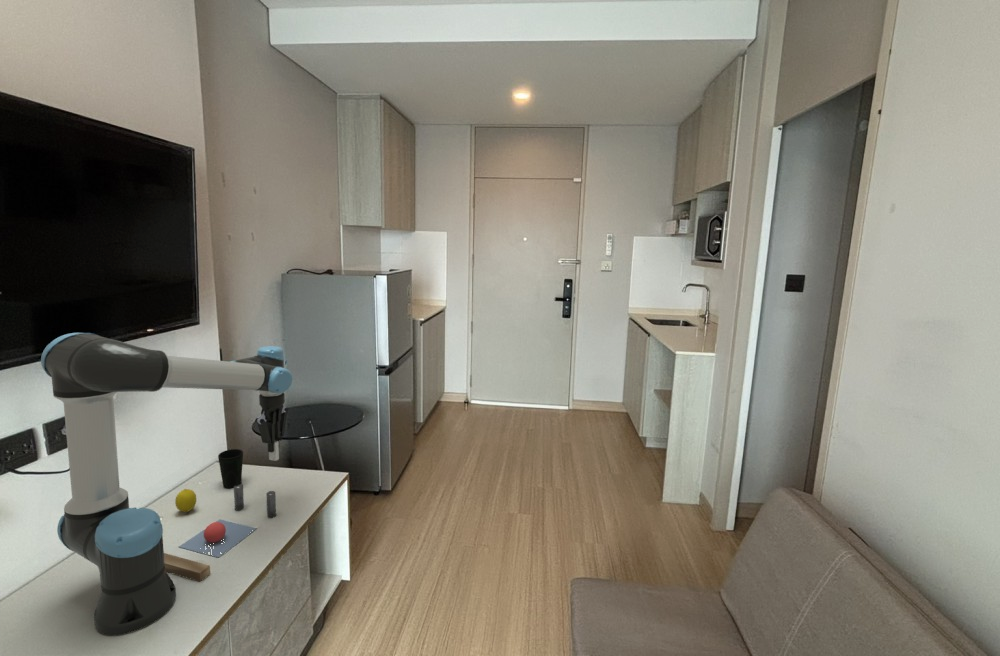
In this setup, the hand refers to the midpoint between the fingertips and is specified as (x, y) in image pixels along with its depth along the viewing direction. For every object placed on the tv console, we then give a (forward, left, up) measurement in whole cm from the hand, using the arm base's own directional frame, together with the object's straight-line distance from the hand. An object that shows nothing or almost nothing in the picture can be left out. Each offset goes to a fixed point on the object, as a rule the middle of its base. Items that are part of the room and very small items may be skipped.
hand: (274, 459), depth 154 cm
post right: (-9, -6, -14) cm, 18 cm away
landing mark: (-23, 0, -14) cm, 27 cm away
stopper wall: (-37, 0, -14) cm, 40 cm away
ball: (-24, 0, -12) cm, 27 cm away
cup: (+2, +20, -15) cm, 25 cm away
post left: (-9, +6, -14) cm, 18 cm away
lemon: (-16, +20, -15) cm, 29 cm away
